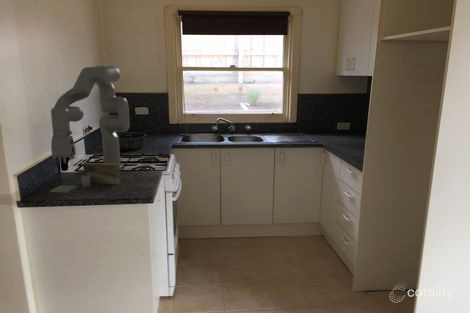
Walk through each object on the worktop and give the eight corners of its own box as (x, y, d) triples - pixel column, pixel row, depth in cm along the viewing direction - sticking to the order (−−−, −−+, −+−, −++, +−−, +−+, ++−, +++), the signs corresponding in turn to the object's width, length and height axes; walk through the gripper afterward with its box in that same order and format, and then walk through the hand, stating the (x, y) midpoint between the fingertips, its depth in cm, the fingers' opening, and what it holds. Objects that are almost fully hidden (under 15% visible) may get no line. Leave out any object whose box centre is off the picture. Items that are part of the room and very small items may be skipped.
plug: (84, 184, 186) (83, 171, 184) (92, 185, 185) (91, 172, 184) (80, 187, 182) (79, 173, 181) (88, 187, 182) (87, 174, 180)
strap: (88, 169, 187) (88, 167, 187) (92, 169, 187) (92, 167, 187) (76, 174, 176) (76, 172, 176) (81, 175, 176) (81, 173, 176)
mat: (60, 186, 183) (60, 185, 183) (77, 187, 182) (77, 186, 182) (49, 192, 174) (49, 190, 174) (67, 193, 173) (67, 191, 173)
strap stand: (87, 181, 192) (86, 162, 190) (120, 182, 190) (118, 164, 188) (84, 182, 190) (83, 164, 187) (117, 184, 187) (116, 165, 185)
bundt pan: (141, 151, 267) (141, 138, 265) (106, 151, 267) (105, 137, 265) (150, 144, 292) (150, 132, 290) (118, 144, 293) (117, 132, 291)
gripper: (80, 132, 177) (83, 169, 181) (51, 132, 179) (55, 168, 183) (71, 135, 170) (74, 173, 174) (42, 134, 172) (45, 171, 176)
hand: (64, 170), depth 178 cm, fingers closed
